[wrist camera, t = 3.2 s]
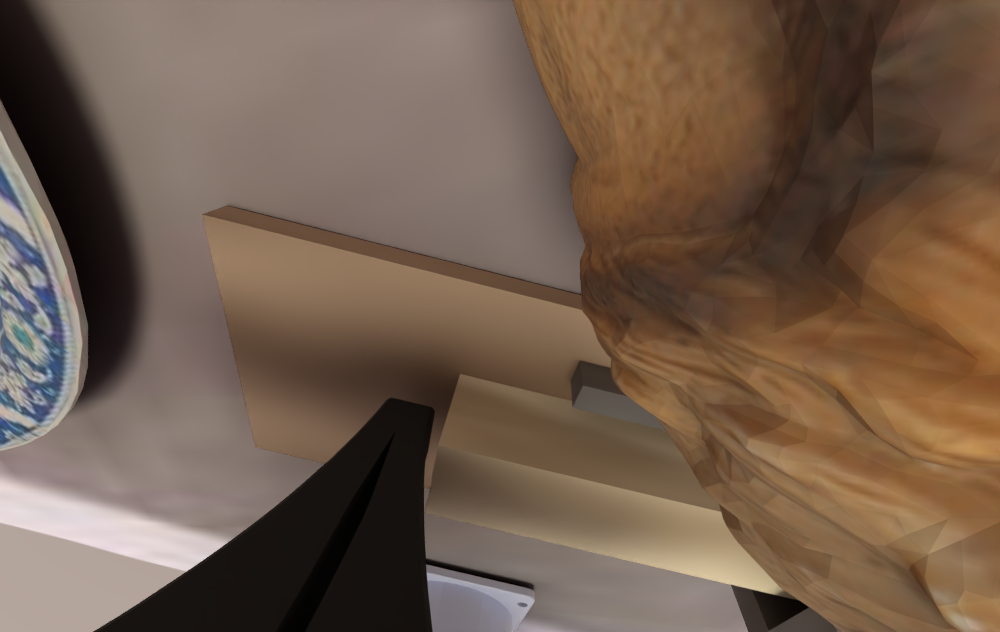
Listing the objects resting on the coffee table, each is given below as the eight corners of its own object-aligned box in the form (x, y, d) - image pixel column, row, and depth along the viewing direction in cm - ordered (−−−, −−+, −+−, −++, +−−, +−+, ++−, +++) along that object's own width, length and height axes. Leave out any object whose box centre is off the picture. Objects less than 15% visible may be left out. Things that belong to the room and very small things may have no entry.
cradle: (813, 560, 15) (906, 723, 11) (269, 430, 14) (167, 553, 10) (1036, 410, 10) (1341, 607, 6) (226, 205, 9) (8, 281, 6)
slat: (788, 521, 12) (838, 609, 10) (446, 439, 12) (424, 513, 10) (852, 468, 11) (928, 561, 9) (460, 373, 10) (438, 444, 8)
